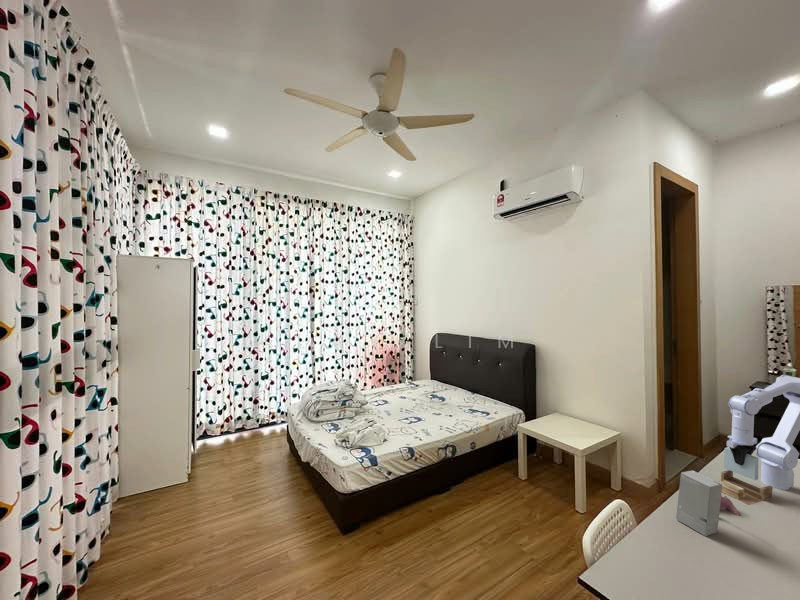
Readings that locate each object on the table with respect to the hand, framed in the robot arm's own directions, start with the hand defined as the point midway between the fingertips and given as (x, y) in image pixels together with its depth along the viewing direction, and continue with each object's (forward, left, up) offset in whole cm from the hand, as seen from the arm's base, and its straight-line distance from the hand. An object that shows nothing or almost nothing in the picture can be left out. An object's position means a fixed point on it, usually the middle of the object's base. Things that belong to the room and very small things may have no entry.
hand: (741, 463), depth 126 cm
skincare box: (+40, +9, -10) cm, 42 cm away
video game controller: (+26, +6, -10) cm, 28 cm away
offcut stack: (+10, +2, -9) cm, 13 cm away
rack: (+5, +2, -10) cm, 11 cm away
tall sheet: (0, 0, -4) cm, 4 cm away
